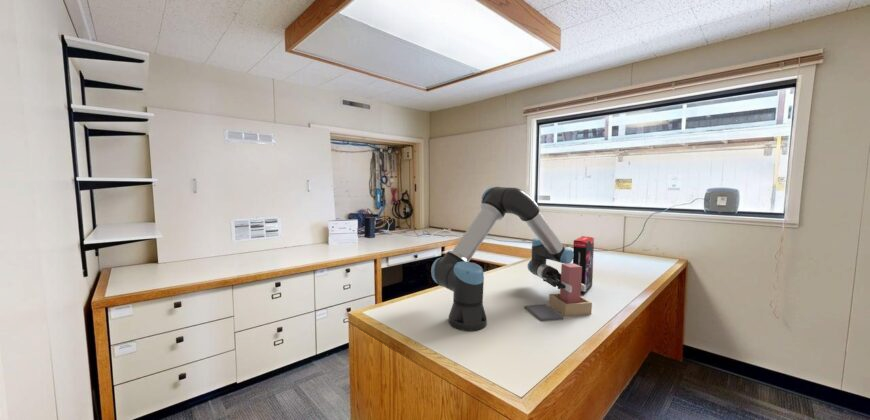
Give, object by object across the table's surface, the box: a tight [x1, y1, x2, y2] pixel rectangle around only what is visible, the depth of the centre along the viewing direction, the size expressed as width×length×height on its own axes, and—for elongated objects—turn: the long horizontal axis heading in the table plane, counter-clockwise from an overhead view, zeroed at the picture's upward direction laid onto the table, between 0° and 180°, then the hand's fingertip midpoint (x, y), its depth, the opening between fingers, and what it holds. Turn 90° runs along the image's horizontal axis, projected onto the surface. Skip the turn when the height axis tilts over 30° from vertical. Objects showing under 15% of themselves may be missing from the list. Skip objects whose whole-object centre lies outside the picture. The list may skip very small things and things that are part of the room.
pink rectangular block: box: [559, 262, 582, 304], centre depth 145 cm, size 6×6×20 cm
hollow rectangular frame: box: [548, 293, 593, 317], centre depth 146 cm, size 13×13×5 cm
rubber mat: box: [524, 303, 564, 322], centre depth 141 cm, size 10×14×1 cm
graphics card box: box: [572, 235, 595, 295], centre depth 172 cm, size 17×7×27 cm, turn 143°
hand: (577, 288), depth 140 cm, fingers closed on pink rectangular block, 6 cm apart
